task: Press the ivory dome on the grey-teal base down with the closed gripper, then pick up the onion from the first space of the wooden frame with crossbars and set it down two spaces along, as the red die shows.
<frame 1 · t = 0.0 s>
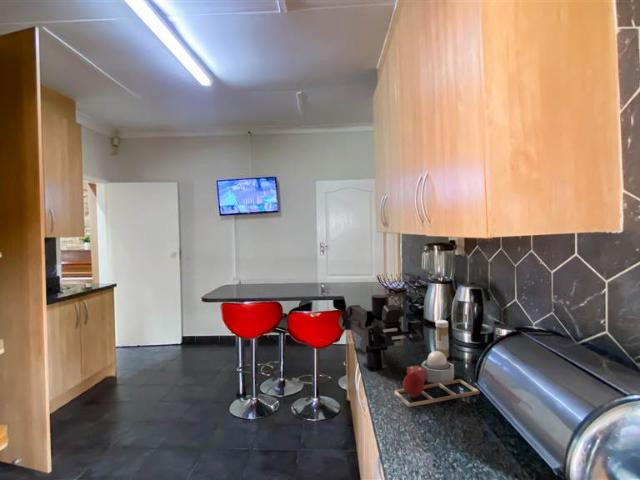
hand: (408, 341, 106), 17 cm above the countertop, tool horizontal, fingers open, 9 cm apart
dome base: (437, 377, 120), on the countertop
dome: (437, 360, 119), point 6 cm above the countertop, slide at 0.0 cm
sprinkles bottle: (442, 356, 138), on the countertop
wooden frame with crossbars: (436, 393, 108), on the countertop
onion: (413, 398, 106), resting in wooden frame with crossbars
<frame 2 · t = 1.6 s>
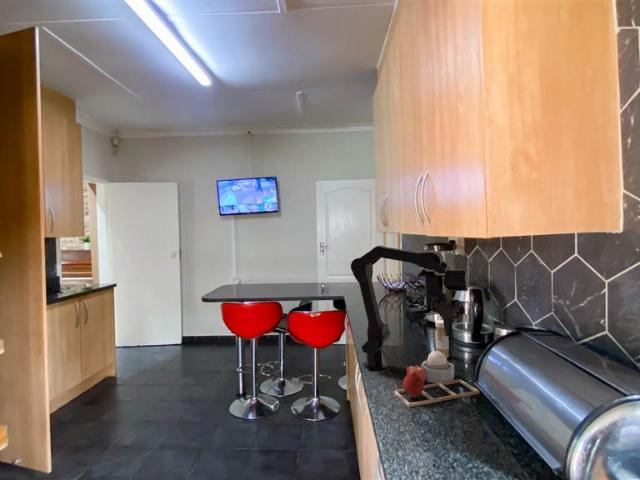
hand: (436, 337, 119), 13 cm above the countertop, tool pointing down, fingers open, 8 cm apart
nothing on the countertop moved.
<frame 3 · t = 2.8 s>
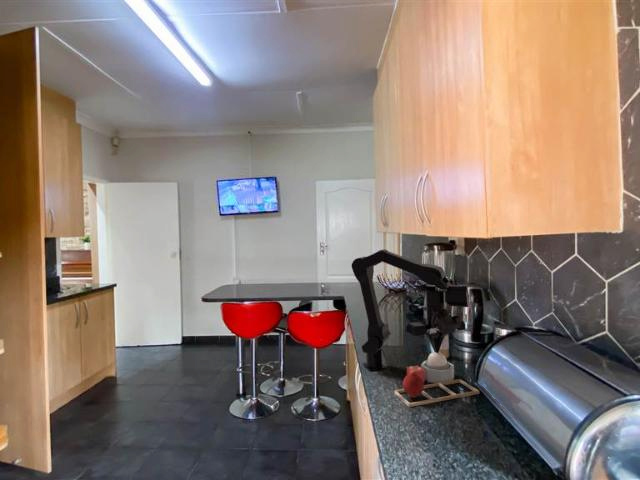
hand: (436, 352, 119), 8 cm above the countertop, tool pointing down, fingers closed, pressing on dome
dome: (437, 361, 119), point 5 cm above the countertop, slide at 0.3 cm, touching gripper
everything else where it was.
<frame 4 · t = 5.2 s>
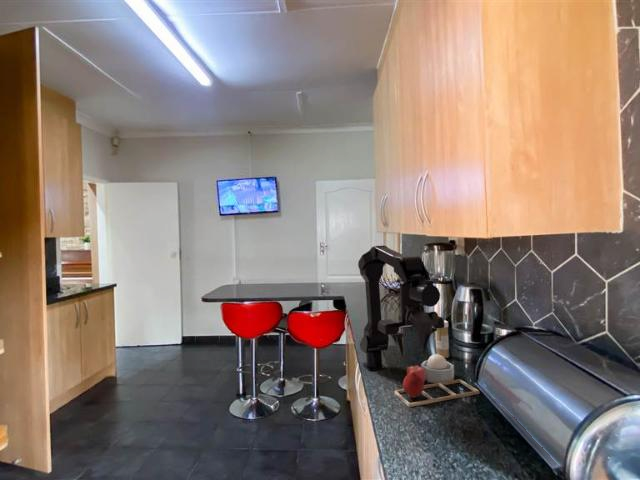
hand: (412, 353, 106), 13 cm above the countertop, tool pointing down, fingers open, 7 cm apart
dome: (437, 363, 119), point 4 cm above the countertop, slide at 1.0 cm
everything else where it was.
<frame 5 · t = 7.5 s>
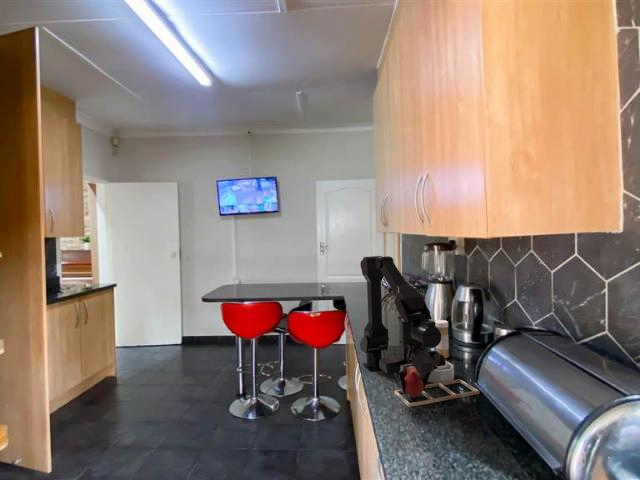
hand: (413, 390, 106), 2 cm above the countertop, tool pointing down, fingers closed on onion, 6 cm apart
onion: (413, 398, 106), resting in wooden frame with crossbars, touching gripper
everything else where it was.
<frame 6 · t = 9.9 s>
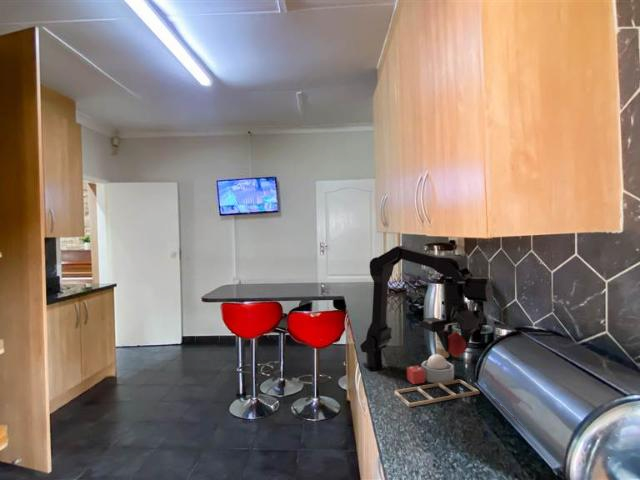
hand: (455, 350, 110), 12 cm above the countertop, tool pointing down, fingers closed on onion, 6 cm apart
onion: (456, 357, 110), point 10 cm above the countertop, touching gripper
everything else where it was.
when the fingers open (3 cm above the countertop, at t = 12.4 s): onion drops 1 cm, resting in wooden frame with crossbars.
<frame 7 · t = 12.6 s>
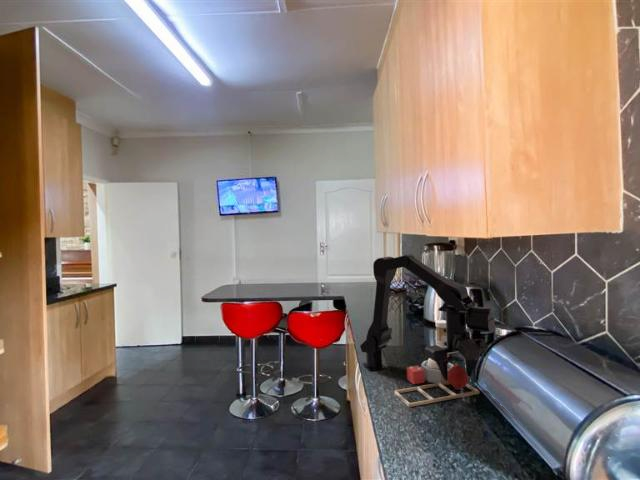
hand: (457, 378, 110), 3 cm above the countertop, tool pointing down, fingers open, 8 cm apart
onion: (458, 390, 110), resting in wooden frame with crossbars
everything else where it was.
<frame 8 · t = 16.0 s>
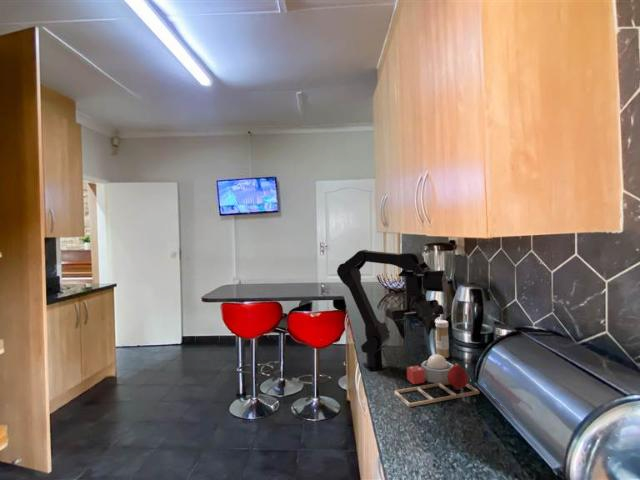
hand: (415, 336, 121), 13 cm above the countertop, tool pointing down, fingers open, 9 cm apart
nothing on the countertop moved.
at the end: dome slide at 1.0 cm; onion 0.0 cm from the target spot, resting in wooden frame with crossbars; the gripper is holding nothing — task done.
